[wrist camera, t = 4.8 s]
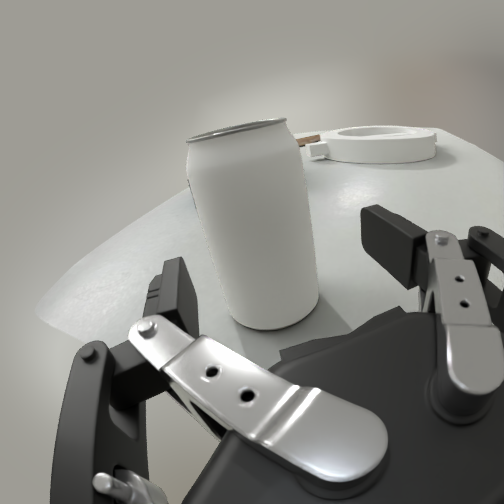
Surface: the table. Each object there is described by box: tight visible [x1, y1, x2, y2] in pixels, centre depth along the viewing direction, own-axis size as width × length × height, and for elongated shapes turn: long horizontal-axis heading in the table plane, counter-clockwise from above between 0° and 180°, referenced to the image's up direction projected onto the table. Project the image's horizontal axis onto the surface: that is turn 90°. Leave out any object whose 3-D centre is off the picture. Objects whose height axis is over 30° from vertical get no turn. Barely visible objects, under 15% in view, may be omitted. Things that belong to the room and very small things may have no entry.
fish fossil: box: [296, 135, 320, 146], centre depth 87 cm, size 26×10×1 cm, turn 141°
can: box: [186, 118, 319, 330], centre depth 17 cm, size 6×6×12 cm
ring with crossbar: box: [305, 126, 437, 164], centre depth 57 cm, size 28×28×5 cm
